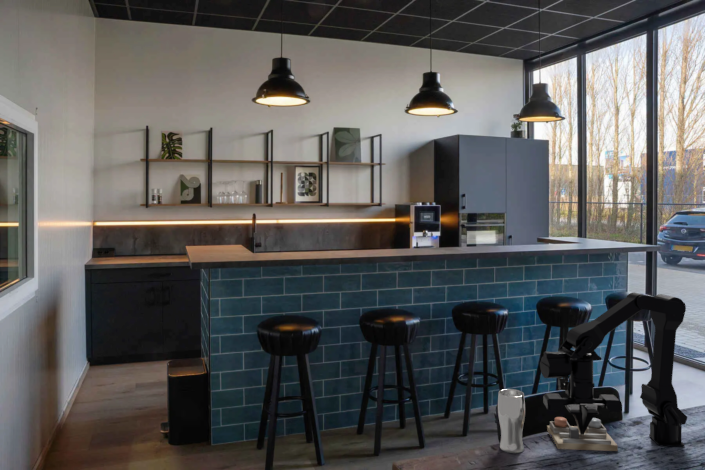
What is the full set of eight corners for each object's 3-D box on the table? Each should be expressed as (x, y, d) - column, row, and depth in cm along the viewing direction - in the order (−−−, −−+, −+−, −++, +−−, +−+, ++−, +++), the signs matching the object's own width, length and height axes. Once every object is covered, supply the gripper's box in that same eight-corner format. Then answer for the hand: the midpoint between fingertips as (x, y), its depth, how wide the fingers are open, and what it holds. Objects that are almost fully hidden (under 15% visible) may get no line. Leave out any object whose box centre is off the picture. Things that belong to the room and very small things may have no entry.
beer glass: (528, 454, 139) (528, 397, 138) (501, 454, 139) (501, 397, 139) (520, 442, 146) (520, 388, 145) (495, 442, 146) (494, 388, 146)
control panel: (602, 432, 152) (602, 421, 151) (617, 451, 140) (617, 439, 140) (547, 430, 153) (547, 420, 153) (558, 449, 142) (557, 437, 141)
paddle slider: (576, 437, 144) (576, 427, 144) (578, 440, 142) (578, 430, 142) (569, 437, 144) (568, 427, 144) (571, 440, 143) (571, 430, 142)
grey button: (598, 423, 150) (598, 417, 150) (602, 428, 147) (602, 422, 147) (586, 423, 151) (586, 417, 151) (590, 427, 147) (590, 422, 147)
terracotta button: (565, 422, 151) (565, 417, 151) (568, 427, 148) (568, 421, 148) (553, 422, 152) (553, 416, 152) (556, 426, 149) (556, 421, 149)
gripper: (607, 368, 149) (607, 423, 150) (538, 367, 152) (538, 421, 152) (622, 380, 138) (622, 439, 139) (547, 379, 141) (548, 437, 141)
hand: (581, 433), depth 143 cm, fingers closed
